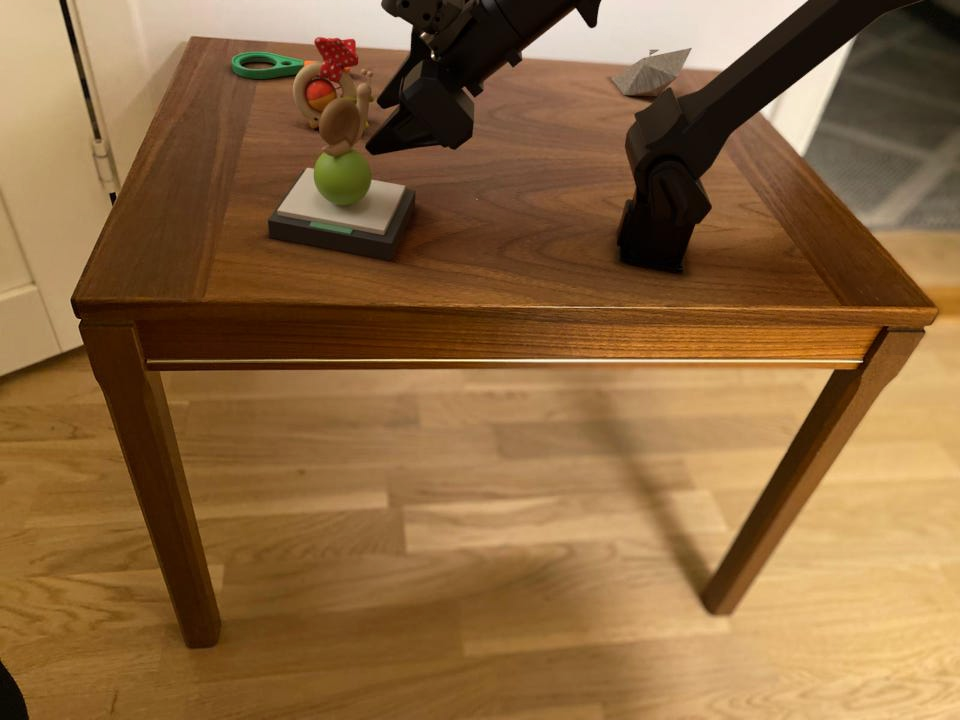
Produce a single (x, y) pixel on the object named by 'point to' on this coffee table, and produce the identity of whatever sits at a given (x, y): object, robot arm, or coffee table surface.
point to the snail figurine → (344, 149)
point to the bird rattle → (320, 90)
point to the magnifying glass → (281, 68)
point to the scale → (344, 218)
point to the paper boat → (651, 73)
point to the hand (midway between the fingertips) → (374, 126)
